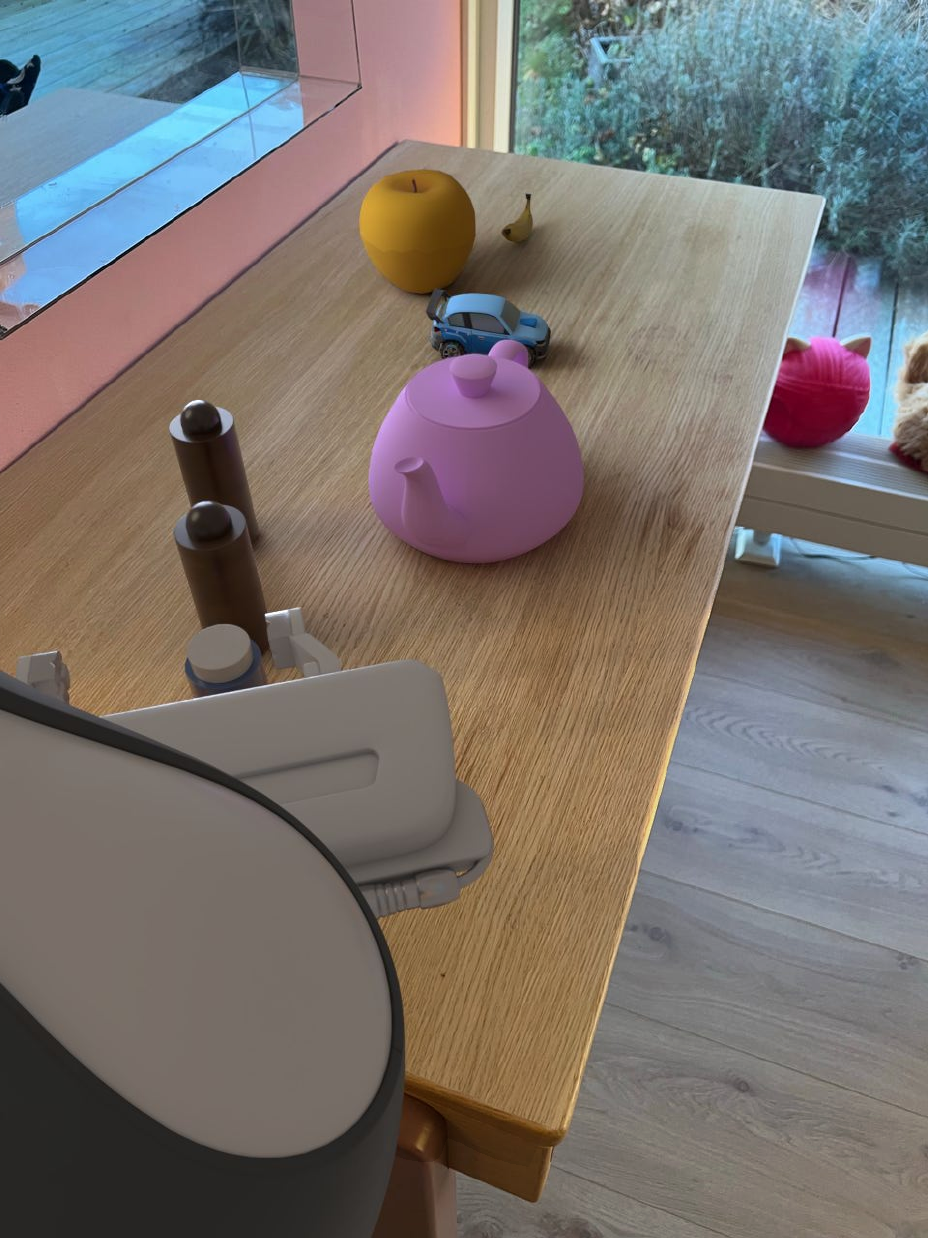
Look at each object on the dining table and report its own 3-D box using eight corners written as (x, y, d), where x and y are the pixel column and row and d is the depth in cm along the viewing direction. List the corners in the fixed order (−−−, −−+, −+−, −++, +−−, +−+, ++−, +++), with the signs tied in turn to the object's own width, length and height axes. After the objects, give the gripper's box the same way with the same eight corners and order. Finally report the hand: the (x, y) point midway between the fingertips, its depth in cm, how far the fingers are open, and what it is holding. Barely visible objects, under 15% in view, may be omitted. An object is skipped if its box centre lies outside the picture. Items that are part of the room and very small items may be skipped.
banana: (517, 262, 116) (517, 228, 113) (497, 260, 117) (497, 226, 114) (538, 225, 123) (539, 192, 120) (519, 223, 124) (519, 191, 121)
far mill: (188, 544, 82) (149, 412, 73) (223, 510, 85) (190, 379, 76) (236, 561, 81) (202, 428, 72) (270, 526, 84) (241, 394, 75)
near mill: (194, 651, 74) (151, 516, 65) (233, 610, 77) (197, 475, 68) (247, 672, 72) (211, 537, 63) (285, 629, 75) (255, 494, 66)
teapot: (429, 415, 95) (421, 278, 85) (612, 450, 90) (625, 309, 80) (310, 587, 78) (283, 443, 69) (526, 641, 74) (530, 494, 64)
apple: (345, 295, 112) (332, 192, 104) (396, 246, 120) (389, 147, 112) (450, 316, 108) (445, 210, 100) (496, 264, 116) (495, 162, 108)
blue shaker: (208, 785, 65) (163, 659, 57) (248, 737, 68) (211, 610, 59) (264, 810, 64) (226, 685, 55) (302, 760, 67) (272, 633, 58)
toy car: (545, 371, 100) (547, 319, 95) (427, 363, 101) (424, 312, 97) (551, 341, 104) (553, 289, 100) (438, 334, 105) (435, 283, 101)
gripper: (508, 834, 30) (418, 538, 39) (-235, 993, 27) (-136, 632, 36) (508, 936, 34) (427, 648, 44) (-129, 1082, 31) (-66, 740, 41)
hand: (167, 641), depth 40 cm, fingers open, 8 cm apart
